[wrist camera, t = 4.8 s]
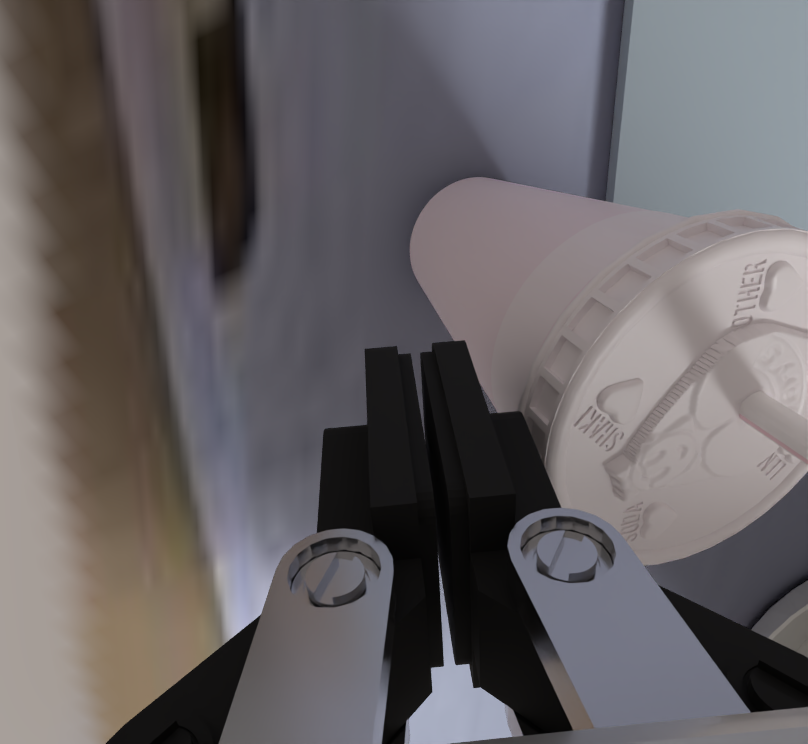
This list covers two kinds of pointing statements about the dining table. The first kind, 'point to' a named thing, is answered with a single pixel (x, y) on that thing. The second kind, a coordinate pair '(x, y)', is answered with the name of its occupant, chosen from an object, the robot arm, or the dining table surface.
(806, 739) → the robot arm
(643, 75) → the mat
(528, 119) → the dining table surface
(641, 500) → the smoothie
